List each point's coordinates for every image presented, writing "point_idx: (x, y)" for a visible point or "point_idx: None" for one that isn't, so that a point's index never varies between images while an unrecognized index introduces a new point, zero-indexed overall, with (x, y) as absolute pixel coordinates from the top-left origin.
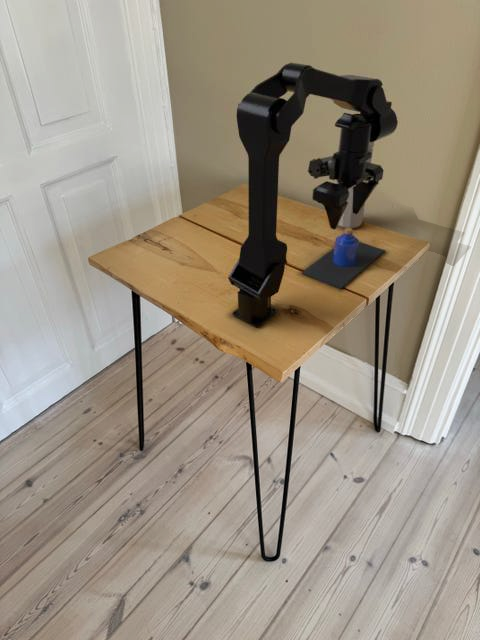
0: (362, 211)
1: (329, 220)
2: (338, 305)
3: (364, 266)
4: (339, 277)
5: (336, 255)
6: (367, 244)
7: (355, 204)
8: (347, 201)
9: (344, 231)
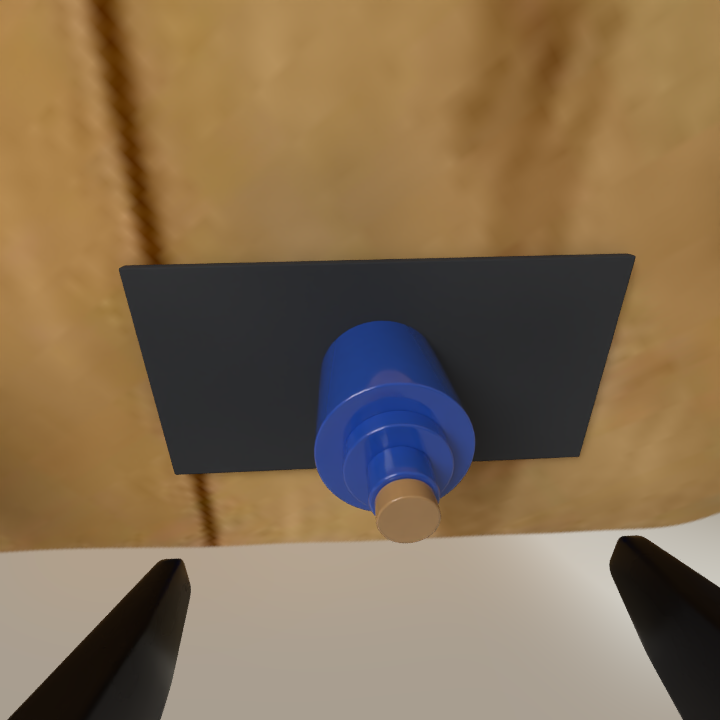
0: None
1: (73, 665)
2: (88, 509)
3: None
4: (235, 432)
5: (321, 386)
6: (600, 377)
7: (700, 654)
8: None
9: (383, 494)
